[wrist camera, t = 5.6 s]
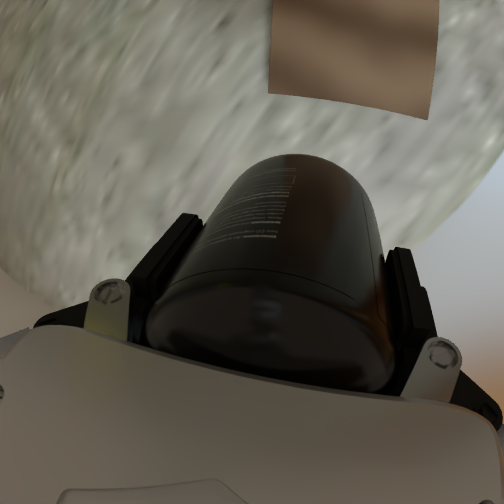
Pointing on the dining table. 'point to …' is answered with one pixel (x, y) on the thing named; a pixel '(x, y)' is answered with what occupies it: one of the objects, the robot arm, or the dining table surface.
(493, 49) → the dining table surface
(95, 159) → the dining table surface
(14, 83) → the dining table surface
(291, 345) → the supplement bottle
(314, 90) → the walnut board
